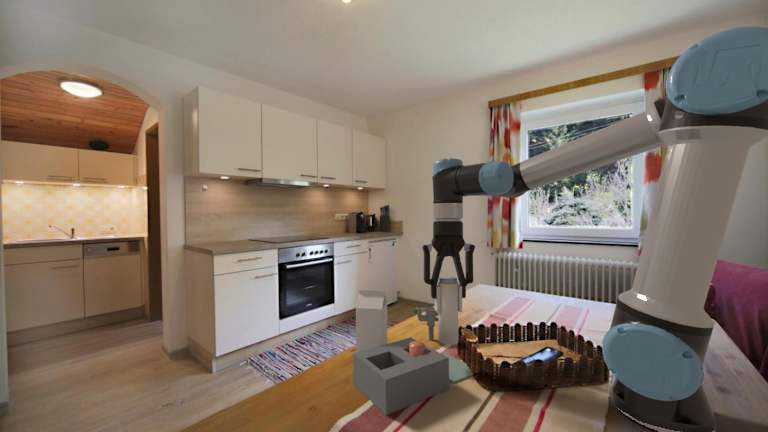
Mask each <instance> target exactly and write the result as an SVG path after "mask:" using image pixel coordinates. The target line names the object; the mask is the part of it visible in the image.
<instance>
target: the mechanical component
mask: <svg viewBox="0 0 768 432" xmlns="http://www.w3.org/2000/svg"><path fill="white" fill-rule="evenodd" d="M413 313H414V315H417V318H418V321H420V322H426V323H427V324H426V326H427V327H428V341H430V342H431V341H432V342H433V341H434V339H435V337H434V335H435V334H434V332H435V331H434V329H435V328H434V327H436V322H438V313H437V312H436V310H435V306H416V308H414V312H413ZM422 313H424V314H422Z"/></svg>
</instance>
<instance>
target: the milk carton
mask: <svg viewBox="0 0 768 432" xmlns="http://www.w3.org/2000/svg"><path fill="white" fill-rule="evenodd" d="M358 292H359V293H358V296H357V301H356V305H355V342H356V343H355V351H356V352H360V351H363V350H367V349H371V348H374V347H378V346H381V345H385V344H389V343H388V341H389V340H388V339H389V338H388V300H387V297H386V291H385V290H383V289H382V290H380V289H358ZM356 352H355V353H356Z"/></svg>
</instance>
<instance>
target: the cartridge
mask: <svg viewBox="0 0 768 432" xmlns="http://www.w3.org/2000/svg"><path fill="white" fill-rule="evenodd" d="M457 279H458V277H455V276H454V277H453V276H442V277H440V276H439V279H438V283H437V284H438V286H440V313H438V316H437V318H438V321H437V322H438V342H439V343H441V344H444V345H449V346H450V345H452V346H453V345H456V344H458V343H459V311H458V284H459V281H458V280H457Z"/></svg>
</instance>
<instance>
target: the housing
mask: <svg viewBox="0 0 768 432" xmlns="http://www.w3.org/2000/svg"><path fill="white" fill-rule="evenodd" d="M413 341H418V340H417V339H415V338H412V337H408V338H402V339H400V340H397V341H394V342H389V343H388V344H385V345H381V346H378V347H374V348H371V349H367V350H363V351H360V352H353V353H352V380H353V383H352V384H354V386H355V387H356V388H357V389H358V390H359V391H361V393H363V395H364V396H366V398H367V399H368V400H370V401H371V402H372V404H373V405H374V406H375V407H377V408H378V409H379V411H381V412H382V413H383V415H385V416H389V415H391V414H393V413H396V412H399V411H400V410H402V409H405V408H408V407H409V406H411V405H414V404H416V403H420V402H421V401H423V400H426V399H428V398H430V397H432V396H436V395H437V394H440V393H443V392H444V391H447V390H449V389H450V381H449V357H447V356H445V355H443V354H444V353H441V352H439V351H437V350H435V349H434V348H431V347H429V346H428V345H426V344H425V354H423V355H419V356H416V357H415V356H413V355H412V354H410V353H409V343H410V342H413Z"/></svg>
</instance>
